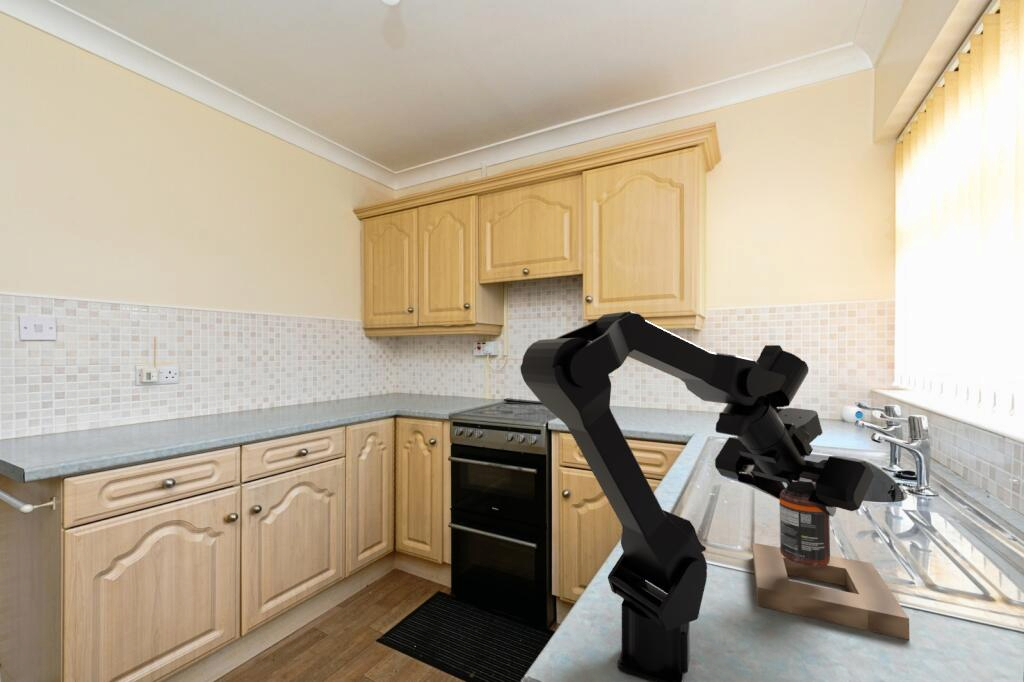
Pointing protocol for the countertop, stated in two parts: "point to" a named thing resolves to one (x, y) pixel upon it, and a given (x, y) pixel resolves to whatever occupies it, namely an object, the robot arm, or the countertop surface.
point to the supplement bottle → (803, 526)
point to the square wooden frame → (829, 592)
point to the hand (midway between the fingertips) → (809, 506)
